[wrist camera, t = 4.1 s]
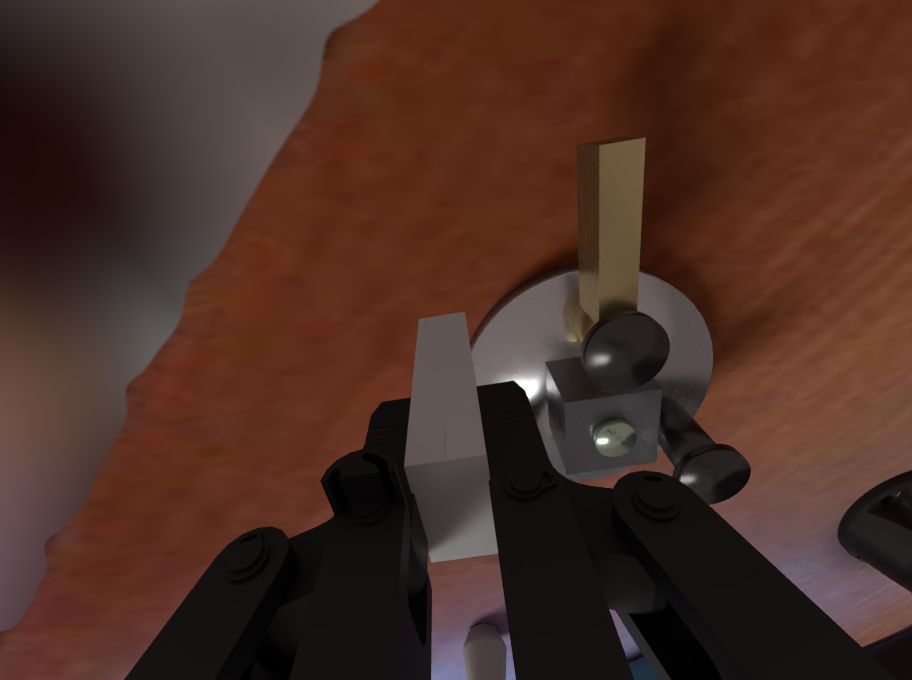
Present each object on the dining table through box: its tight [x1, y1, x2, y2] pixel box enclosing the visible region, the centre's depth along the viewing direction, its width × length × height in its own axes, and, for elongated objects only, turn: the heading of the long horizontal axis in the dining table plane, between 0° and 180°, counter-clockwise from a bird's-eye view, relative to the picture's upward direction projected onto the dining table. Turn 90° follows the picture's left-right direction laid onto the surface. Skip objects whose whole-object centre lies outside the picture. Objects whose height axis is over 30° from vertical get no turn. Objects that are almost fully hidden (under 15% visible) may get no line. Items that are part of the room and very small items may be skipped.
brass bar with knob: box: [564, 138, 670, 391], centre depth 26 cm, size 15×5×8 cm, turn 9°
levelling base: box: [470, 263, 751, 505], centre depth 33 cm, size 22×22×10 cm
